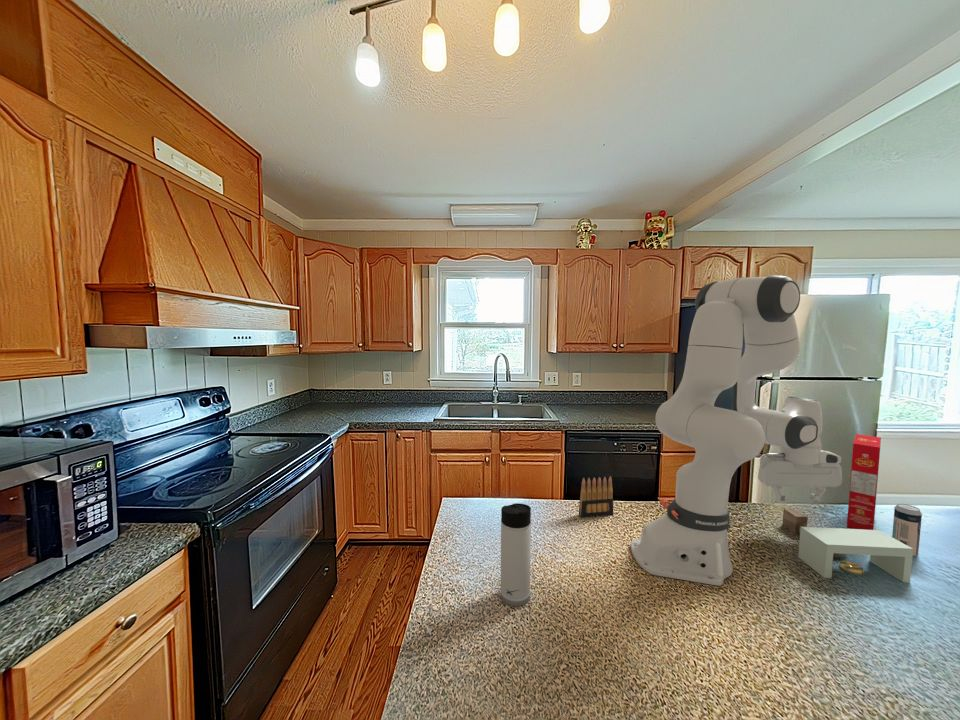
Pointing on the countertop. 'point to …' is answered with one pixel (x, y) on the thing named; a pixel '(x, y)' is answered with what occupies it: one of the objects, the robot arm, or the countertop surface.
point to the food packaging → (863, 482)
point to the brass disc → (851, 567)
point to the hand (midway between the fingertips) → (797, 500)
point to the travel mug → (515, 554)
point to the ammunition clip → (596, 498)
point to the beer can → (907, 526)
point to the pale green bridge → (854, 549)
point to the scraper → (798, 523)
